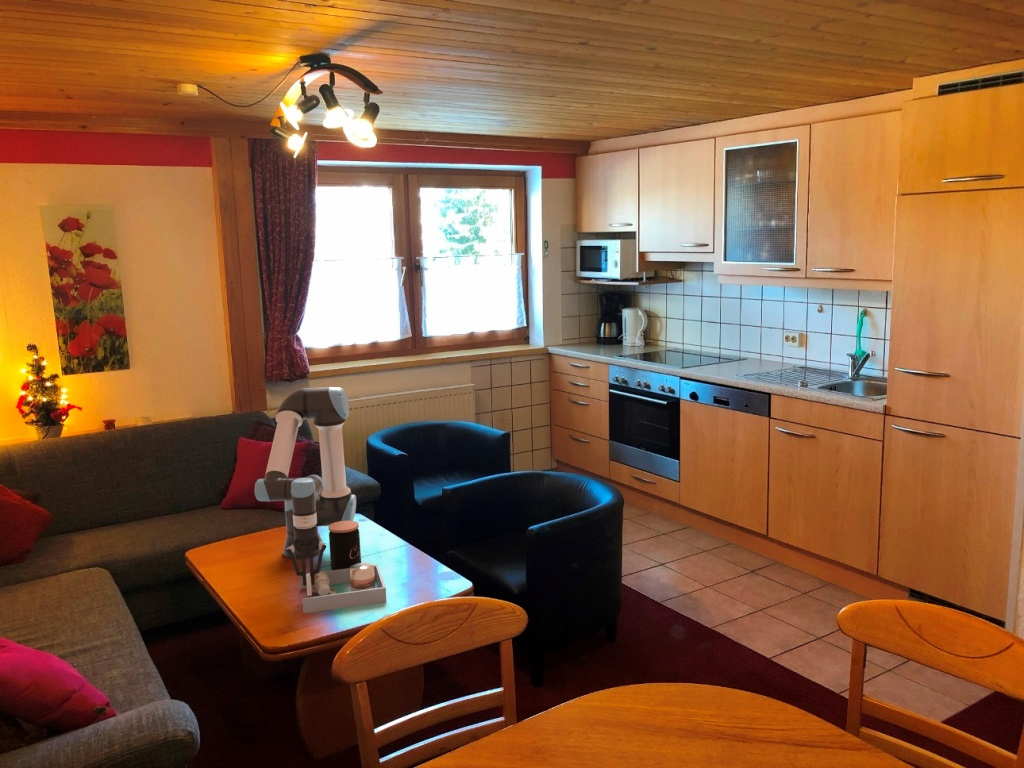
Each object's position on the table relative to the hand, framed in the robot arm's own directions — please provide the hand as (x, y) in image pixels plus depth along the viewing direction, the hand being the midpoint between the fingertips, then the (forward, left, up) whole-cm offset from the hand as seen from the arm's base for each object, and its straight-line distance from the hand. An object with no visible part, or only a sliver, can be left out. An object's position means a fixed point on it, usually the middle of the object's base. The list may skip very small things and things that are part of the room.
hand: (309, 594), depth 271 cm
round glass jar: (+1, +18, -2) cm, 18 cm away
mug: (+1, +5, -2) cm, 6 cm away
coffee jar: (-18, +14, -2) cm, 23 cm away
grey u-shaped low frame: (+1, +11, -2) cm, 11 cm away
